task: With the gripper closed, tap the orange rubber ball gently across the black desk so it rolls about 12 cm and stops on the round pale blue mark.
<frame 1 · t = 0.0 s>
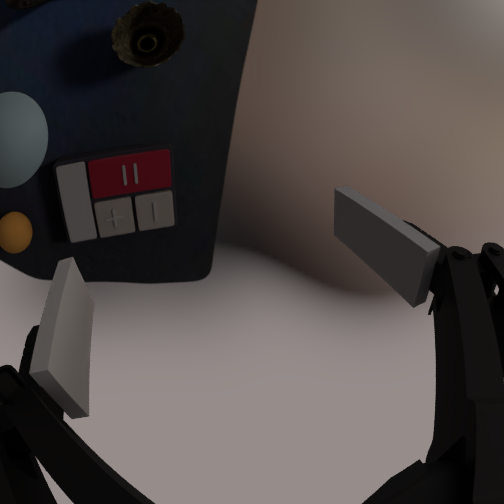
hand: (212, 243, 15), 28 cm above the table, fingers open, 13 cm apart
calculator: (117, 187, 39), on the table
ball: (14, 232, 33), on the table
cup: (147, 44, 30), on the table
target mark: (6, 140, 29), on the table
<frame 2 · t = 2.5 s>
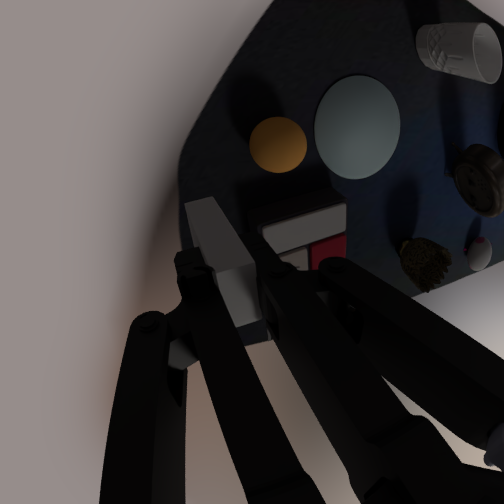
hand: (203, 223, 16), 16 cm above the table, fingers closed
calculator: (295, 249, 40), on the table
ball: (278, 144, 29), on the table
alarm clock: (450, 167, 42), on the table
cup: (402, 245, 47), on the table
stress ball: (470, 246, 56), on the table
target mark: (360, 127, 34), on the table
white cup: (429, 46, 31), on the table
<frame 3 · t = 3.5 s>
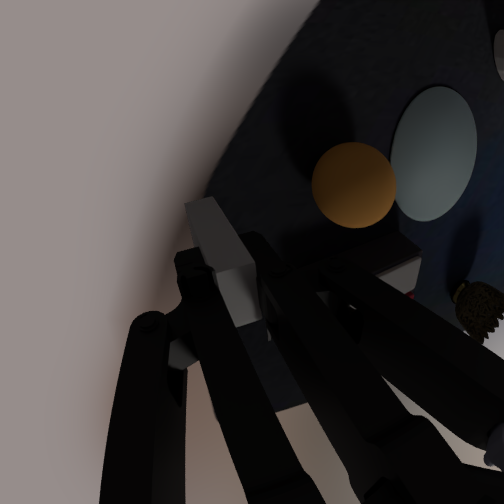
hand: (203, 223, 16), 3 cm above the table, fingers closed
calculator: (346, 308, 30), on the table
ball: (354, 184, 19), on the table
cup: (456, 287, 37), on the table
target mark: (439, 155, 24), on the table
white cup: (503, 56, 21), on the table
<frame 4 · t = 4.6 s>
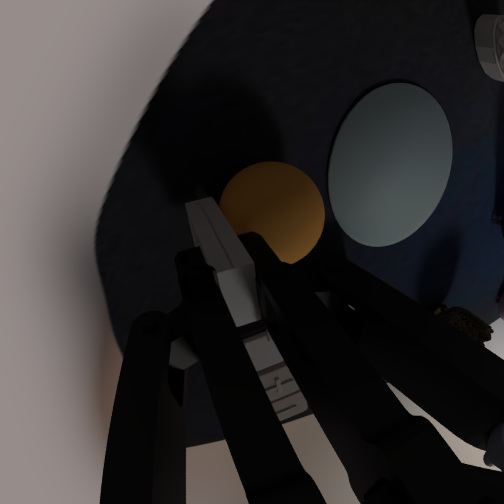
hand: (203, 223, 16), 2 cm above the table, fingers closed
calculator: (289, 341, 27), on the table
ball: (271, 214, 16), on the table, touching gripper
alarm clock: (498, 210, 30), on the table
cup: (431, 312, 34), on the table
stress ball: (503, 291, 43), on the table
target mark: (399, 168, 21), on the table
white cup: (488, 46, 18), on the table
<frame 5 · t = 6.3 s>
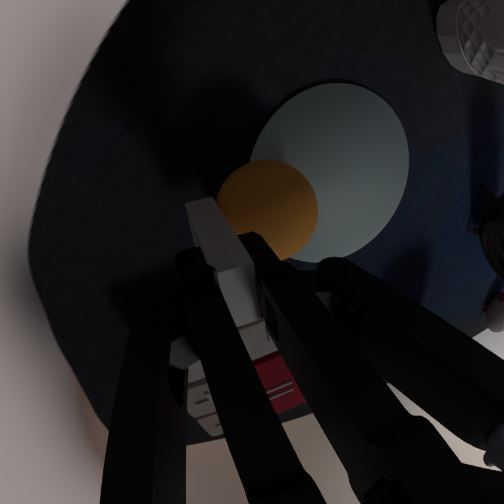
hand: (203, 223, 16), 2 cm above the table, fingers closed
calculator: (230, 353, 27), on the table
ball: (266, 210, 17), on the table, touching gripper
alarm clock: (476, 218, 29), on the table
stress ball: (491, 300, 42), on the table
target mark: (339, 178, 20), on the table
white cup: (456, 35, 17), on the table
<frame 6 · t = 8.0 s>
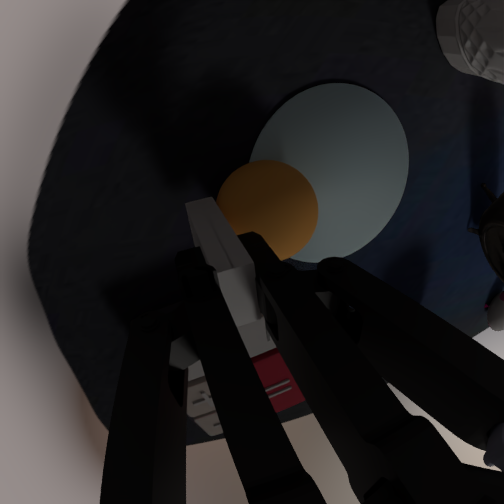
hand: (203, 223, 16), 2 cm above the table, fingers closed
calculator: (227, 352, 26), on the table
ball: (266, 211, 17), on the table, touching gripper
alarm clock: (476, 218, 29), on the table
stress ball: (492, 299, 42), on the table
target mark: (338, 178, 20), on the table
white cup: (456, 35, 17), on the table
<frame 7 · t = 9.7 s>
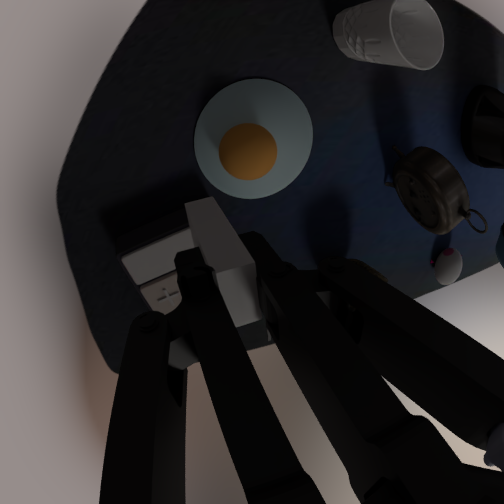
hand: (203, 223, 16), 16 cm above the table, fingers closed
calculator: (186, 269, 37), on the table
ball: (247, 151, 29), on the table
alarm clock: (394, 175, 40), on the table
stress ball: (439, 257, 54), on the table
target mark: (256, 139, 31), on the table
white cup: (354, 34, 28), on the table
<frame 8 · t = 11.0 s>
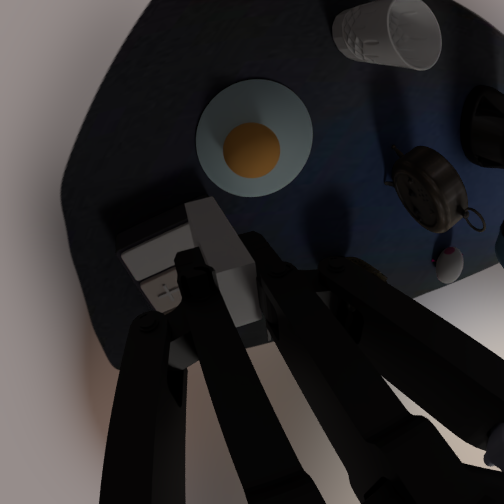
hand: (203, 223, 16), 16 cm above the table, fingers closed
calculator: (186, 265, 37), on the table
ball: (251, 150, 29), on the table
alarm clock: (393, 174, 40), on the table
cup: (333, 264, 45), on the table
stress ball: (440, 256, 54), on the table
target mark: (257, 139, 32), on the table
white cup: (354, 35, 29), on the table
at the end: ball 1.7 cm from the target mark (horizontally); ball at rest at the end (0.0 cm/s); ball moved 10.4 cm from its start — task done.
